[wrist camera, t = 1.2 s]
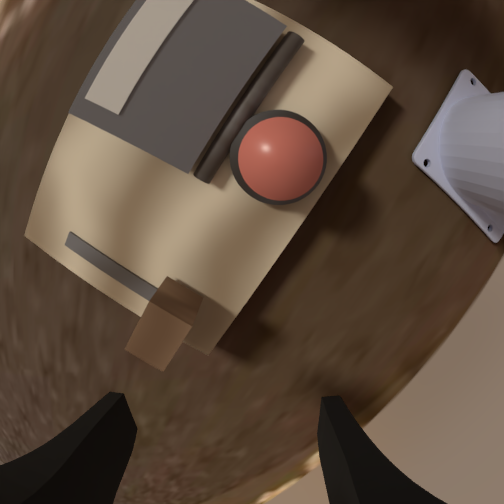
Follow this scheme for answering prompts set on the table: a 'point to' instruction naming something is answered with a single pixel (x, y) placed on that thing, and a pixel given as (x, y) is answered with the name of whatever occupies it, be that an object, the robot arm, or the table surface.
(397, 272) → the table surface
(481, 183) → the robot arm
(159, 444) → the table surface
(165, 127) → the paddle switch
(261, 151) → the push button
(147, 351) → the slider knob
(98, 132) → the control panel
